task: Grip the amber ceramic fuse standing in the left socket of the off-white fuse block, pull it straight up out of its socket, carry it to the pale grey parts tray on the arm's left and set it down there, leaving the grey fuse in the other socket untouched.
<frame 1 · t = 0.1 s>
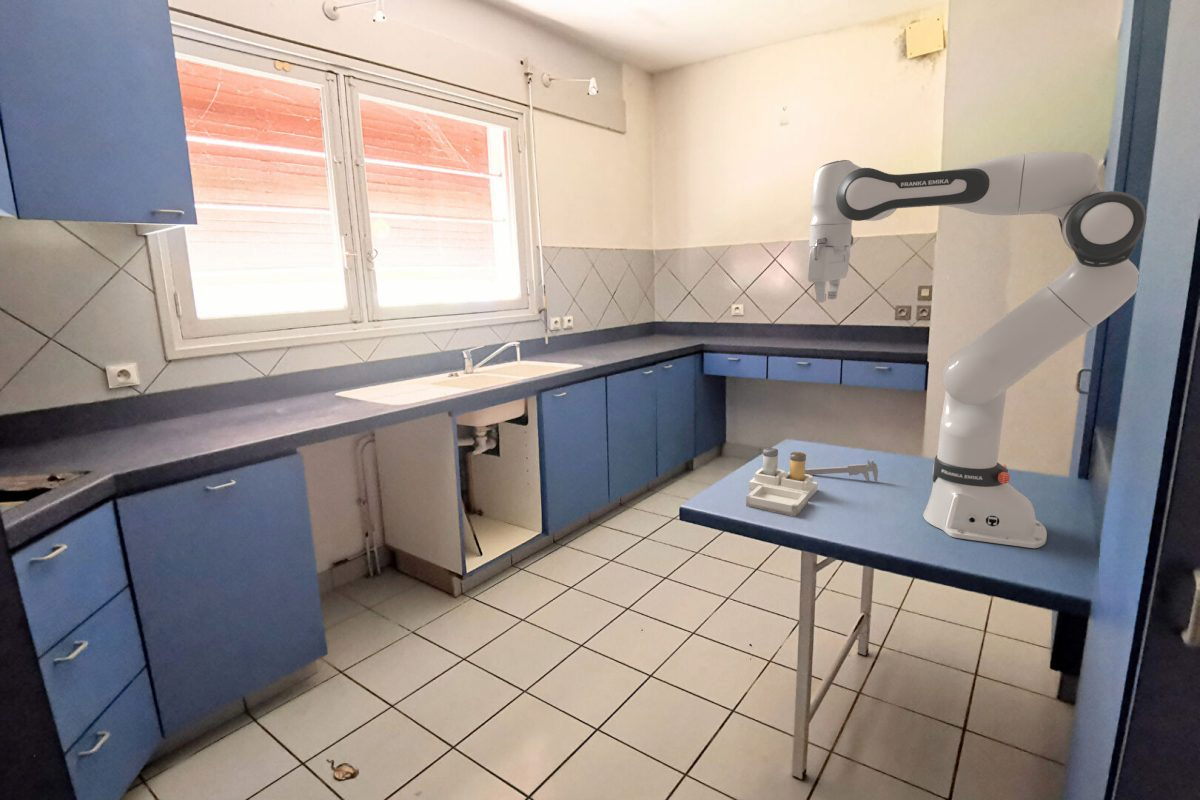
hand: (826, 300, 138), 48 cm above the table, tool pointing down, fingers open, 8 cm apart
fuse block: (782, 489, 153), on the table
parts tray: (777, 504, 144), on the table
caliper: (835, 479, 160), on the table
blown fuse: (796, 484, 151), point 2 cm above the table, touching fuse block
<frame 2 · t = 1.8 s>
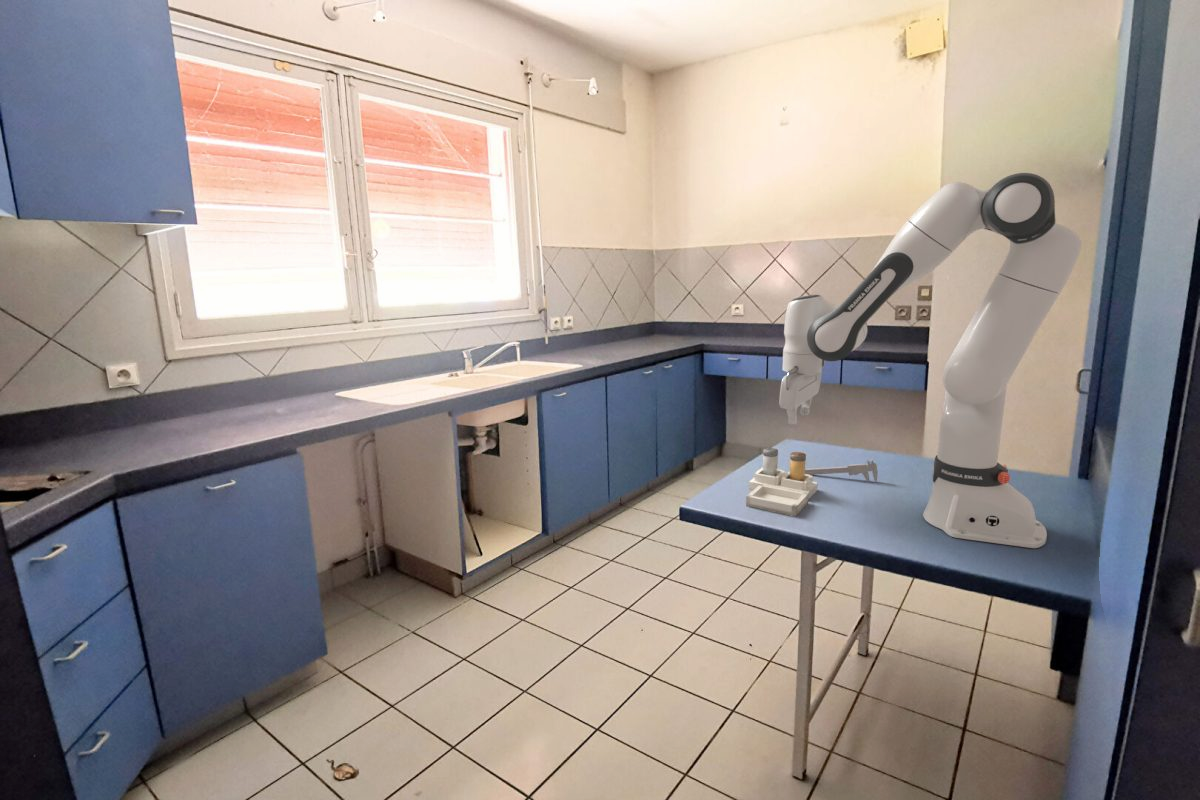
hand: (798, 419, 147), 19 cm above the table, tool pointing down, fingers open, 8 cm apart
nothing on the table moved.
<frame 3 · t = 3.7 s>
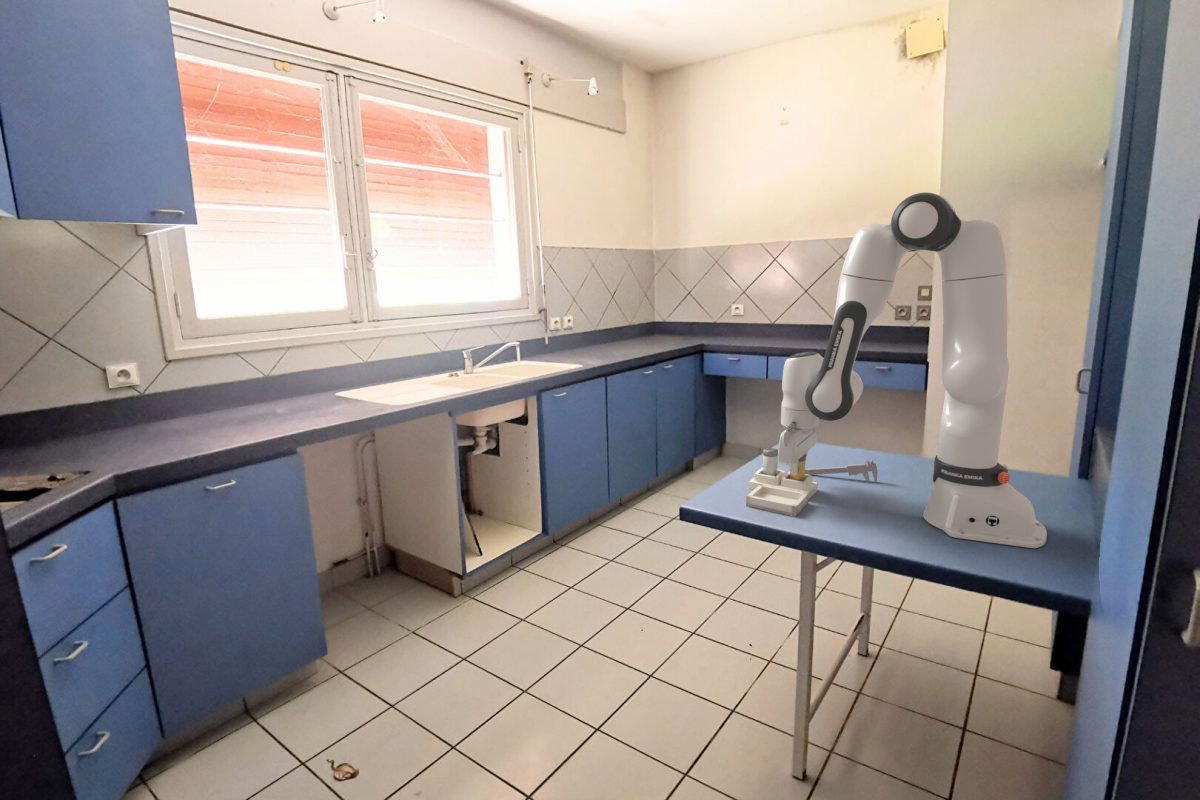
hand: (797, 471, 150), 6 cm above the table, tool pointing down, fingers closed on blown fuse, 4 cm apart
blown fuse: (796, 484, 151), point 2 cm above the table, touching fuse block, gripper
everything else where it was.
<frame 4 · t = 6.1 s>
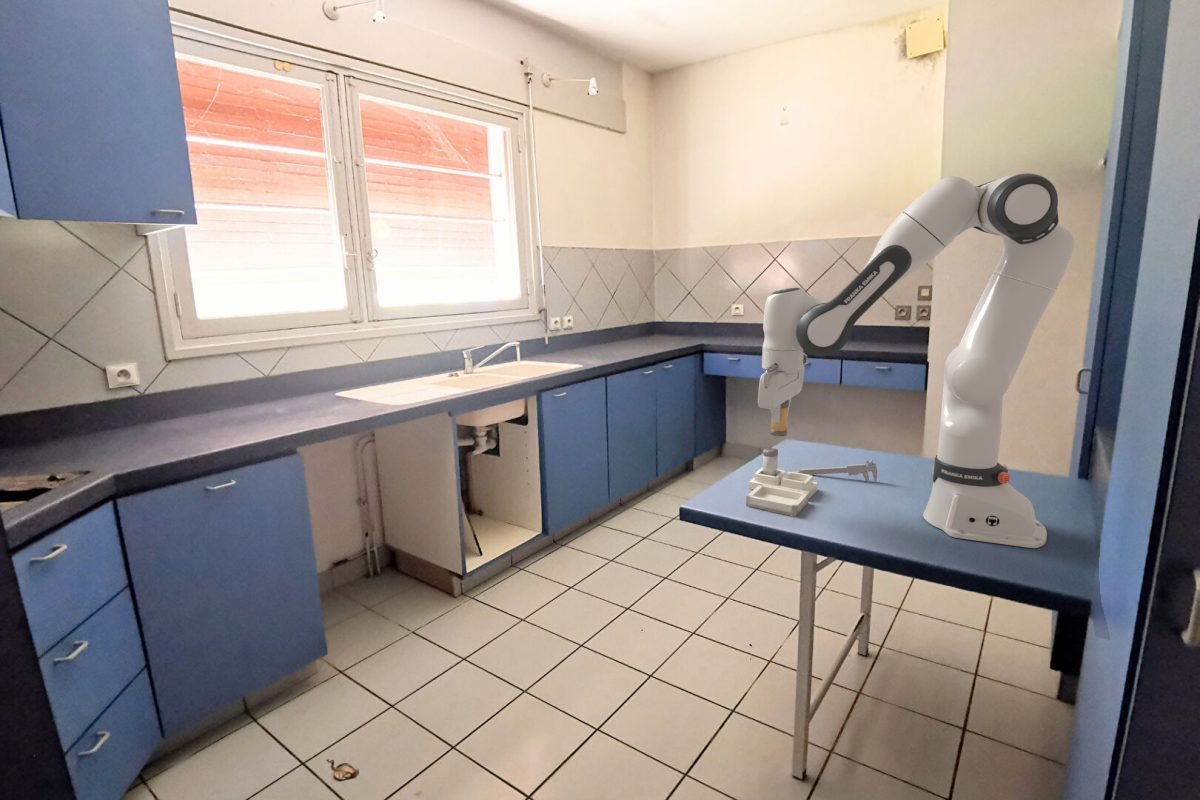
hand: (779, 419, 139), 21 cm above the table, tool pointing down, fingers closed on blown fuse, 4 cm apart
blown fuse: (778, 433, 140), point 18 cm above the table, touching gripper
everything else where it was.
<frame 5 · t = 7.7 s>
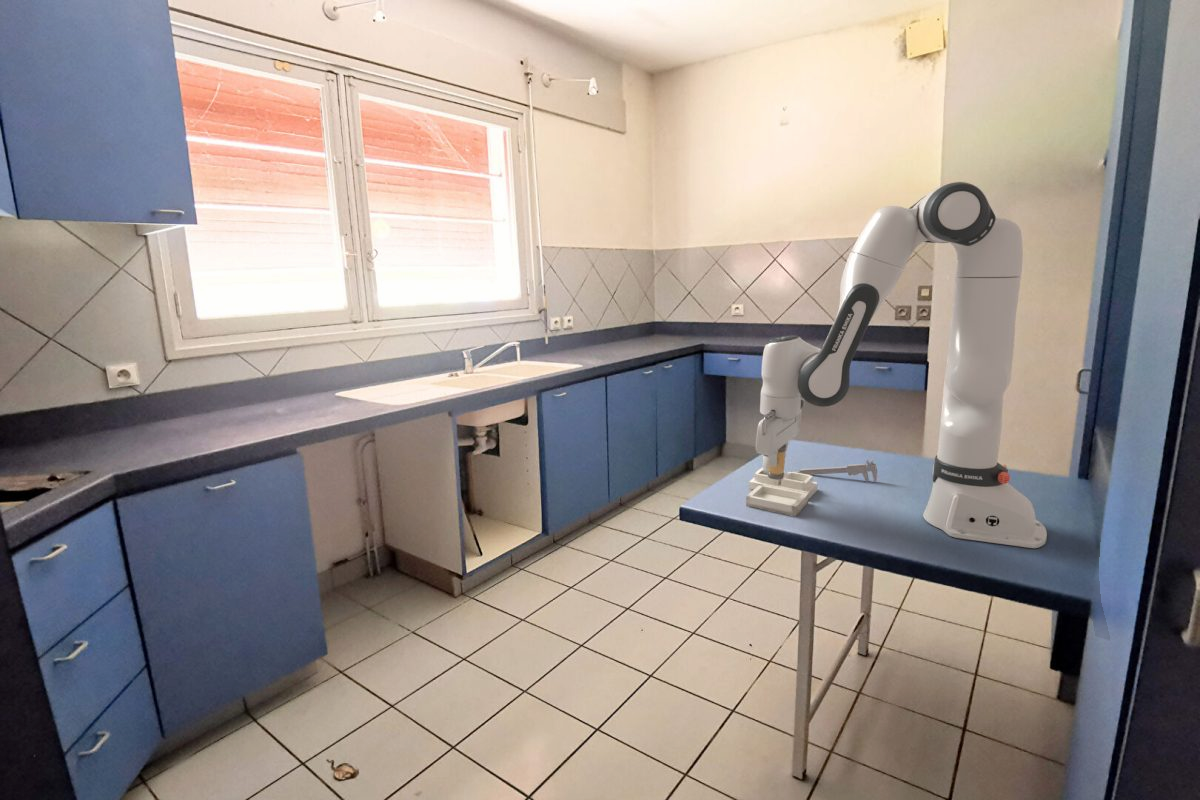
hand: (777, 462, 142), 11 cm above the table, tool pointing down, fingers closed on blown fuse, 4 cm apart
blown fuse: (775, 476, 143), point 7 cm above the table, touching gripper
everything else where it was.
when the fingers open (6 cm above the table, at t = 8.8 s): blown fuse drops 2 cm, resting on parts tray.
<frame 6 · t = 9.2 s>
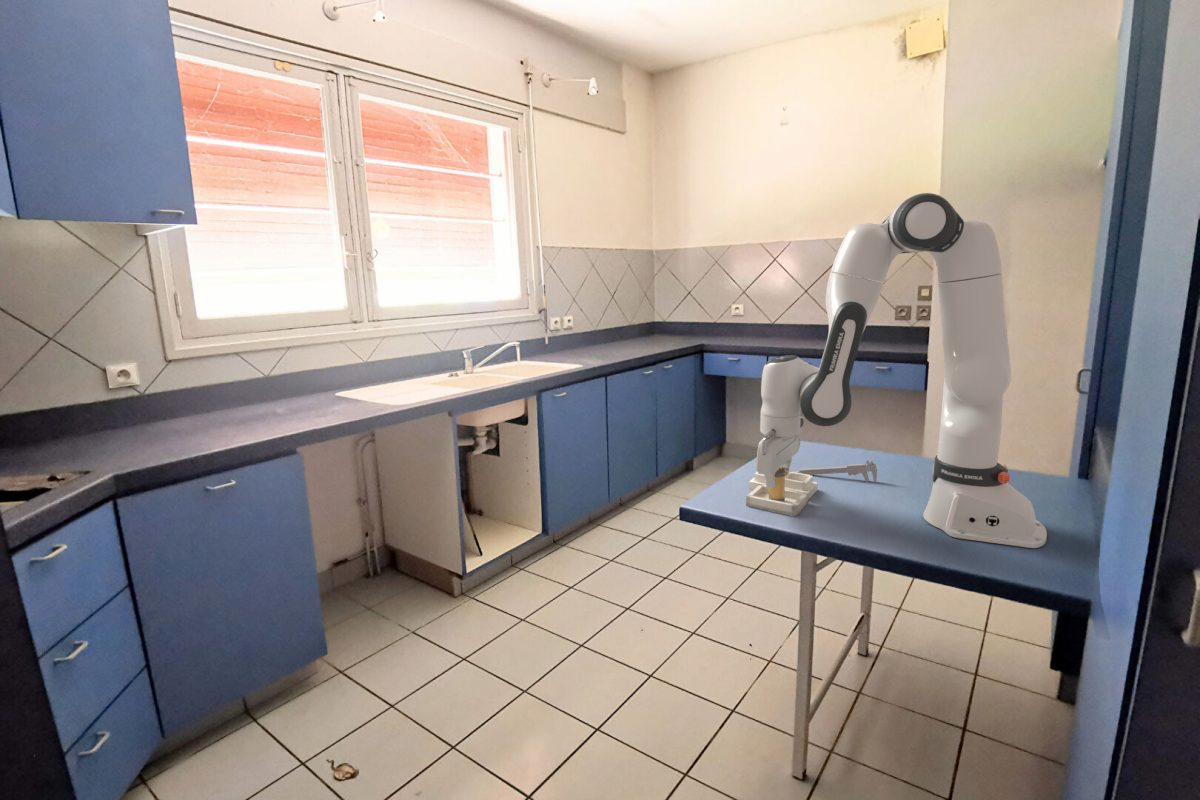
hand: (777, 480, 143), 6 cm above the table, tool pointing down, fingers open, 8 cm apart
blown fuse: (776, 501, 144), point 1 cm above the table, touching parts tray
everything else where it was.
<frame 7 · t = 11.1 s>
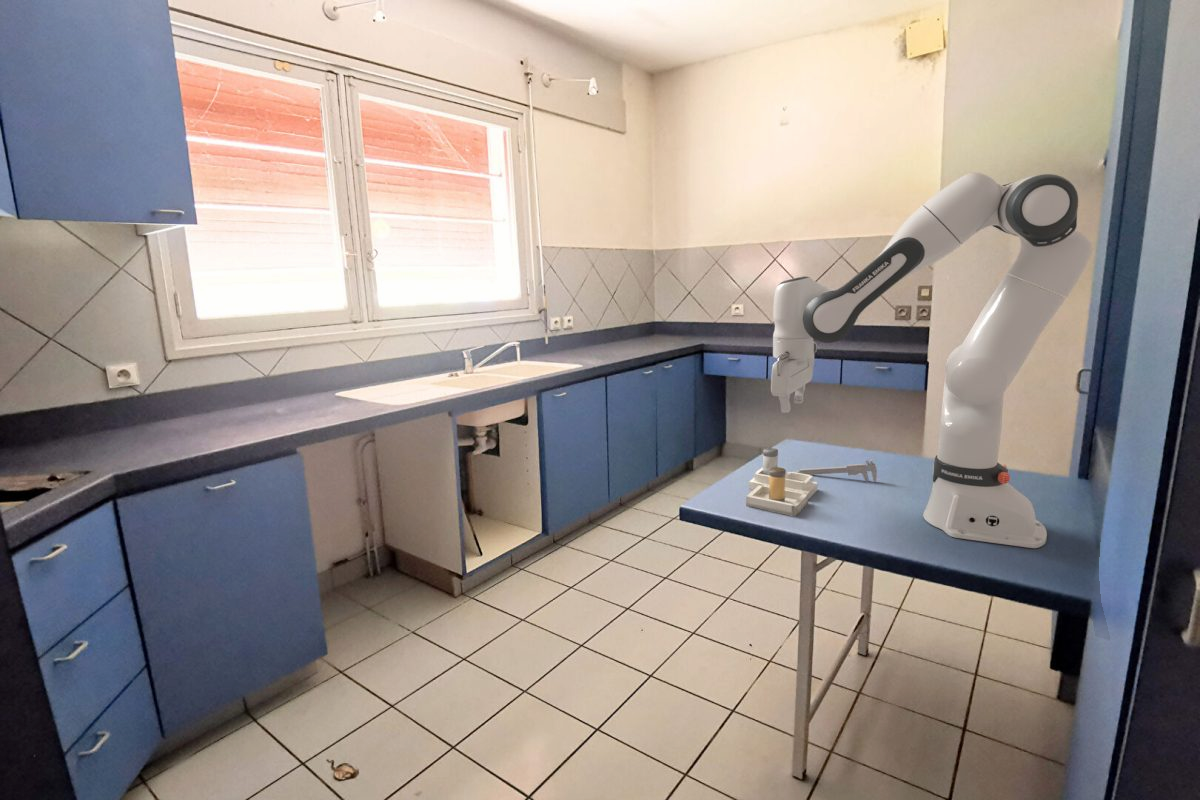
hand: (792, 407, 141), 23 cm above the table, tool pointing down, fingers open, 8 cm apart
nothing on the table moved.
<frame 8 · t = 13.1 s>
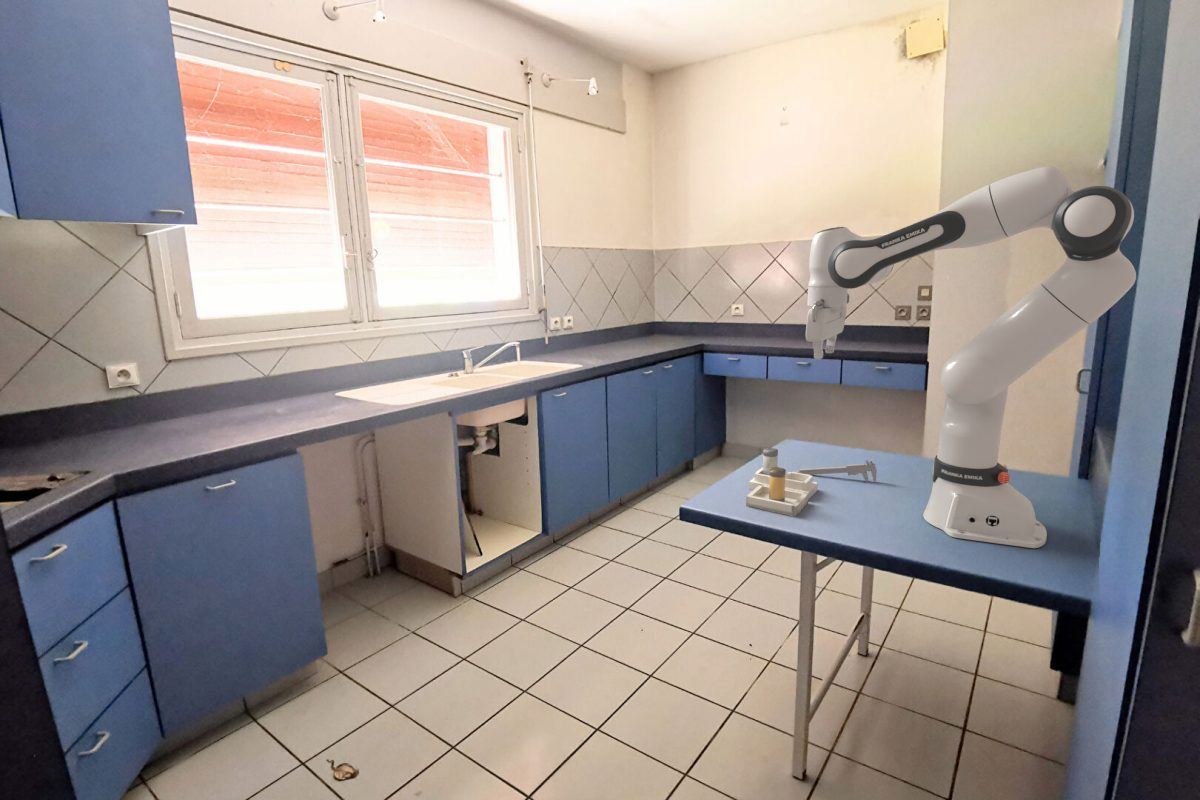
hand: (824, 355, 146), 34 cm above the table, tool pointing down, fingers open, 8 cm apart
nothing on the table moved.
at the end: blown fuse inside the target area on the parts tray (0.2 cm from its centre), point 0.8 cm above the parts tray's base; the gripper is holding nothing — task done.
